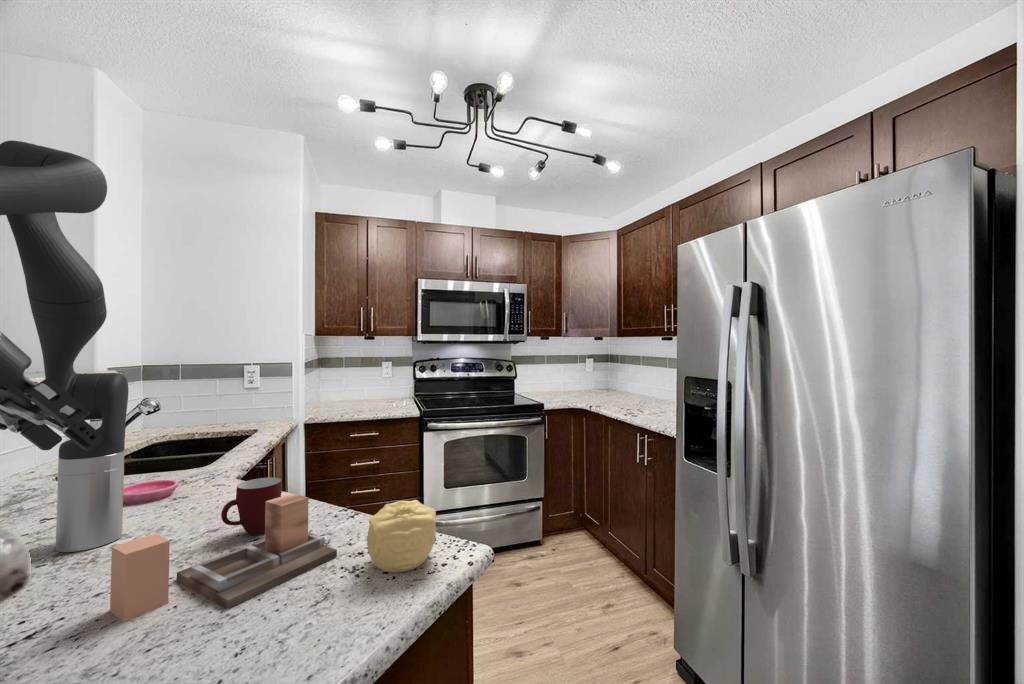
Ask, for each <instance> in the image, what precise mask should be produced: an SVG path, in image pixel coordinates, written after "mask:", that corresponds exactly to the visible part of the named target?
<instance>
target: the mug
mask: <svg viewBox="0 0 1024 684" xmlns="http://www.w3.org/2000/svg"><path fill="white" fill-rule="evenodd" d="M282 482H283V481H282V479H281V478H280V477H260V478H254V479H250V480H246V481H242V482H241V483H238V484H236V485H237V486H236V493H235V499H232V500H230V501H228V502H227V503H226V504H225V505H224V506H223V508H222V510H221V514H220V516H221V517H220V519H221V520H222V522H223V523H224V524H225V525H228V526H242V528H243V530H245V532H246V534H247V535H248V536H260V535H263V534H264V535H265V501H269V500H272V499H275V498H279V497H282V492H283V491H282V488H283V487H282V486H283V484H282ZM233 506H237V510H238V516H239V520H235V521H232V520H230V519H229V518H228V513H229V510H230V509H231V508H233Z"/></svg>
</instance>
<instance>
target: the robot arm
mask: <svg viewBox="0 0 1024 684" xmlns="http://www.w3.org/2000/svg"><path fill="white" fill-rule="evenodd" d="M107 194H108V183H107V179H106V176H105V174H104V172H103V170H102V169H101V168H100V167H99V166H98V165H97V164H96V163H95V162H93V161H91V160H89V159H88V158H86V157H83V156H80V155H77V154H75V153H72V152H68V151H64V150H59V149H56V148H52V147H47V146H42V145H37V144H34V143H31V142H26V141H21V140H6V141H3V142H1V143H0V216H6V220H7V221H8V224H9V227H10V229H11V233H12V234H13V238H14V241H15V243H16V247H17V250H18V254H19V258H20V263H21V267H22V271H23V276H24V280H25V287H26V292H27V297H28V301H29V305H30V310H31V314H32V316H33V320H34V325H35V328H36V332H37V336H38V340H39V344H40V349H41V352H42V354H41V355H42V360H43V369H44V377H45V378H44V379H43V380H42V381H41V382H37V381H33V380H31V379H30V378H28V377H26V376H25V374H24V373H25V371H26V370H27V369H29V367H30V366H31V365H32V358H31V357H30V356H29V355H28V354H26V353H25V352H24V351H23V350H22V349H21V347H19V346H17V344H15V343H14V342H13V341H12V340H11V339H10V338H9V337H8V336H6V335H5V334H4V333H3V332H1V331H0V430H2V431H6V430H8V429H9V431H10V432H11V433H15V434H18V433H19V434H20V435H21V436H23V438H25V439H26V440H28V441H29V442H30V443H31V444H33V445H35V446H36V447H37V448H38V449H40V450H41V451H50V450H52V449H53V448H55V447H56V446H57V445H58V444H59V443H60V445H59V447H58V459H57V460H58V464H57V466H58V467H57V468H58V469H57V494H56V495H57V497H56V521H55V523H56V527H55V528H56V529H55V551H56V552H58V553H72V552H74V553H75V552H81V551H86V550H87V551H88V550H91V549H95V548H98V547H101V546H105V545H108V544H110V543H112V542H115V541H116V540H118V539H120V538H122V536H123V516H124V503H123V487H125V486H124V482H125V481H124V480H125V477H124V475H125V444H126V441H125V440H126V425H127V424H126V422H127V412H128V411H127V410H128V402H129V401H128V400H129V383H128V379H127V377H126V376H125V374H122V373H119V372H99V373H98V372H94V373H93V372H92V373H89V372H88V373H86V372H85V373H77V372H76V371H75V370H74V362H75V360H76V359H77V357H78V356H79V355H80V353H81V351H82V350H83V348H85V346H86V345H87V344H88V343H89V342H90V341H91V340H92V338H93V337H94V336H95V335H96V334H97V333H98V331H99V330H100V329H101V328H102V326H103V324H104V323H105V321H106V319H107V316H108V315H107V314H108V313H107V312H108V311H107V304H106V298H105V297H106V296H105V290H104V285H103V283H102V280H101V279H100V277H99V275H98V274H97V273H96V271H95V269H93V268H92V266H91V265H90V264H89V263H88V262H87V261H86V260H85V258H84V257H83V256H82V255H81V254H80V253H79V252H78V250H77V249H75V247H74V246H73V245H72V244H71V242H70V241H69V240H68V238H66V236H65V235H64V233H63V231H62V229H61V227H60V225H59V221H58V219H57V218H58V217H57V215H56V213H60V214H61V213H63V214H89V213H92V212H95V211H96V210H98V209H99V208H100V207H101V206H102V205H103V203H104V202H105V200H106V199H107ZM90 420H92V421H93V420H102V421H101V424H100V426H99V427H98V428H96V429H95V427H93V426H91V425H90V424H89V423H88V422H87V421H90ZM51 427H52V428H51ZM53 428H54V429H53ZM55 430H57V431H58V432H61V433H62V434H63V435H64V436H66V437H67V438H68V440H65V441H64V442H62V441H63V437H62V436H61V435H60V434H59V433H57V432H56V431H55ZM61 442H62V443H61Z"/></svg>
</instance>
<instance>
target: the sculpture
mask: <svg viewBox="0 0 1024 684" xmlns="http://www.w3.org/2000/svg"><path fill="white" fill-rule="evenodd" d="M436 515H437V511H436V509H435V508H433V507H430V506H428V505H426V504H424V503H421V502H420V501H419V500H417V499H413V500H398V501H395V502H391V503H386V504H385V505H383V507H382V508H381V509H380V510H378V512H377V513H375V514H373V515H372V516H371V517H370V518H369V520H368V524H369V526H368V530H367V534H366V535H367V536H366V542H367V543H366V544H367V545H366V546H367V551H368V554H369V555H368V556H369V557H370V559H371V561H372V563H373V564H374V565H375V566H376V567H377V568H378V569H380V570H381V571H384V572H388V573H403V572H408V571H412V570H414V569H417V568H418V567H420V566H421V565H422V564H423V563H424V562H425V561H426V560H427V559H428V557H429V555H430V554H431V552H432V549H433V548H434V547H433V546H434V544H435V542H436V537H437V527H436V525H437V516H436Z"/></svg>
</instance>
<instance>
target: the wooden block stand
mask: <svg viewBox="0 0 1024 684" xmlns="http://www.w3.org/2000/svg"><path fill="white" fill-rule="evenodd" d="M325 544H326V543H325V537H324V536H323V535H318V534H316V533H312V532H309V497H307V496H304V495H300V494H296V493H289V494H285V495H283V496H282V495H281V497H279V498H275V499H272V500H269V501H265V533H264V538H263V539H262V540H258V541H256V542H254V543H251V544H248V545H245V546H243V547H241V548H237V549H235V550H232V551H229V552H227V553H223V554H221V555H219V556H216V557H213V558H211V559H208V560H206V561H202V562H201V563H197V564H195V565H192V566H190V567H187V568H185V569H182V570H179V571H177V572H176V581H177V582H179V583H181V584H182V585H185V586H186V587H188V588H190V589H192V590H193V591H195V592H197V593H199V594H200V595H203V596H204V597H206V598H208V599H210V600H211V601H212V602H214V603H216V604H218V605H220V606H221V607H223V608H225V609H227V610H229V609H231V608H232V607H233V608H234V607H235V606H238V605H239V604H241V603H243V602H245V601H247V600H249V599H252V598H254V597H256V596H258V595H260V594H262V593H265V592H266V591H268V590H270V589H272V588H274V587H277V586H278V585H280V584H283V583H285V582H286V581H289V580H291V579H293V578H295V577H298V576H299V575H302V574H303V573H306V572H308V571H310V570H312V569H314V568H316V567H319V566H320V565H322V564H324V563H327V562H329V561H331V560H333V559H335V558H337V557H338V550H337V549H336V548H333V547H330V546H327V545H325Z"/></svg>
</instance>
